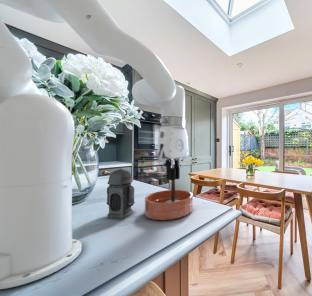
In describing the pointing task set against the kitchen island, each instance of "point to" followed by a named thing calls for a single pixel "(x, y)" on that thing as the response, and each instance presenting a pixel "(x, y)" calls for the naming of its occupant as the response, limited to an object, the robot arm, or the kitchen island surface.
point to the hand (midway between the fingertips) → (173, 179)
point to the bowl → (168, 205)
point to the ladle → (172, 191)
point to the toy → (120, 194)
